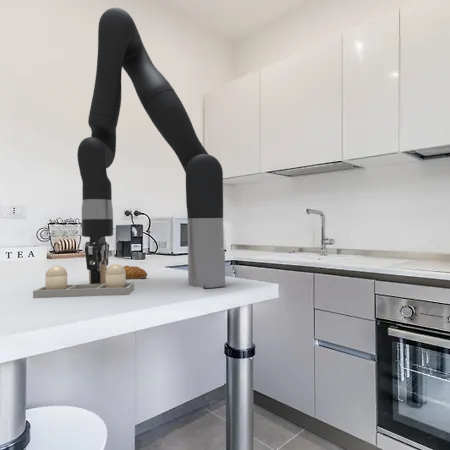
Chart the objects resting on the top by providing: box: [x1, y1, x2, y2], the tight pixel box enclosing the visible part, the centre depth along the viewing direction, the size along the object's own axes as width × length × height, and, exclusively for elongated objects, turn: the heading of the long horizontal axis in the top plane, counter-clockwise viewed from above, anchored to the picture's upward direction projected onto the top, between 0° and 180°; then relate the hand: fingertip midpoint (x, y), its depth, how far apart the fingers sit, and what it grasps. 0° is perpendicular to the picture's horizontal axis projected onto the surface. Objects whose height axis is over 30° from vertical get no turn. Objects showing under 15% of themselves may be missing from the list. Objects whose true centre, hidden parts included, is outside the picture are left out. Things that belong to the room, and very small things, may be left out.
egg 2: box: [88, 263, 108, 284], centre depth 88 cm, size 4×4×6 cm
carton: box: [32, 282, 135, 299], centre depth 78 cm, size 20×7×2 cm, turn 95°
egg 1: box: [44, 265, 68, 290], centre depth 77 cm, size 4×4×6 cm
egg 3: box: [105, 263, 127, 288], centre depth 79 cm, size 4×4×6 cm
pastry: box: [122, 265, 148, 281], centre depth 105 cm, size 9×7×4 cm
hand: (98, 284), depth 88 cm, fingers closed on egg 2, 4 cm apart
